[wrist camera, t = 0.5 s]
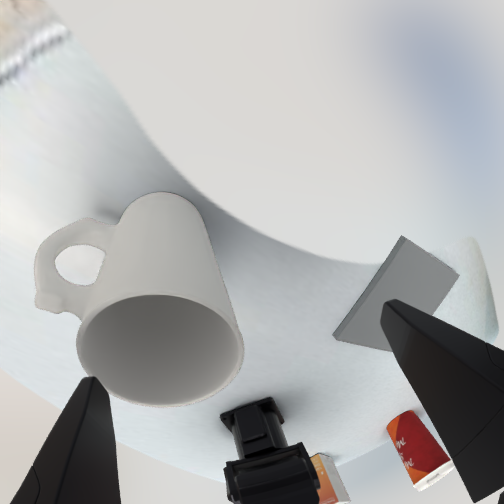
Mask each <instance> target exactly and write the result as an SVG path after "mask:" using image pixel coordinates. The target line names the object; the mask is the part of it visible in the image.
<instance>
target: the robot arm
mask: <svg viewBox="0 0 504 504" xmlns="http://www.w3.org/2000/svg"><path fill="white" fill-rule="evenodd" d="M380 325H381V328H382V330H383V332H384V334H385V336H386V338H387V341H388V343H389V345H390V347H391V349H392V351H393V353H394V356H395V358H396V360H397V362H398V364H399V366H400V368H401V369H402V371H403V373H404V374H405V376H406V378H407V379H408V381H409V383H410V384H411V386H412V388H413V390H414V391H415V393H416V395H417V397H418V398H419V400H420V402H421V403H422V405H423V407H424V409H425V411H426V412H427V414H428V416H429V418H430V419H431V421H432V423H433V425H434V427H435V429H436V430H437V432H438V434H439V436H440V438H441V439H442V441H443V443H444V445H445V447H446V449H447V451H448V453H449V455H450V456H451V458H452V461H453V463H454V465H455V467H456V469H457V471H458V472H459V474H460V476H461V478H462V480H463V482H464V485H465V486H466V488H467V491H468V493H469V495H470V497H471V499H472V501H473V502H474V503H476V502H478V501H480V500H482V499H483V498H485V497H487V496H489V495H491V494H492V493H494V492H496V491H497V490H499V489H501V488H502V487H504V350H501V349H499V348H497V347H495V346H493V345H491V344H489V343H487V342H486V343H485V341H483V340H481V339H479V338H477V337H475V336H473V335H471V334H469V333H467V332H465V331H462V330H460V329H458V328H456V327H454V326H452V325H450V324H448V323H446V322H444V321H442V320H440V319H438V318H436V317H434V316H432V315H430V314H427V313H425V312H423V311H421V310H419V309H417V308H415V307H413V306H411V305H409V304H407V303H404V302H402V301H400V300H398V299H391V300H389V301H386V302H384V304H383V307H382V312H381V318H380ZM220 419H221V421H222V422H223V423H224V424H225V425H226V427H227V428H228V429H229V430H230V431H231V432H232V433H233V436H234V440H235V444H236V448H237V452H238V456H239V460H236V461H228V462H226V465H227V467H225V468H224V469H223V470H224V474H225V478H226V486H227V497H228V500H229V501H231V502H233V503H234V504H319V501H320V498H319V495H318V492H317V490H319V489H321V486H320V481H319V478H318V475H317V472H316V469H315V467H314V465H313V463H312V461H311V459H310V457H309V455H308V453H307V451H306V449H305V447H304V445H303V443H302V442H299V443H297V444H295V445H292V446H288V444H287V441H286V438H285V435H284V433H283V430H282V427H281V424H283V423H284V419H283V417H282V415H281V413H280V411H279V410H278V408H277V406H276V404H275V402H274V400H273V398H267V399H265V400H262V401H259V402H257V403H254V404H251V405H248V406H245V407H243V408H240V409H237V410H234V411H231V412H228V413H225V414H222V415H220ZM10 504H121V498H120V490H119V480H118V470H117V456H116V441H115V434H114V427H113V421H112V414H111V406H110V398H109V394H108V392H107V390H106V389H105V388H104V386H103V385H102V384H101V382H100V381H99V380H98V378H97V377H95V376H90V377H84V378H83V379H82V380H81V381H80V383H79V385H78V386H77V388H76V389H75V391H74V393H73V394H72V396H71V398H70V399H69V401H68V403H67V404H66V406H65V408H64V409H63V411H62V413H61V415H60V416H59V418H58V420H57V421H56V423H55V425H54V427H53V428H52V430H51V432H50V433H49V435H48V437H47V439H46V441H45V442H44V444H43V446H42V448H41V450H40V451H39V454H38V455H37V457H36V459H35V461H34V463H33V466H31V468H30V470H29V472H28V474H27V476H26V477H25V479H24V481H23V483H22V485H21V487H20V488H19V490H18V491H17V493H16V495H15V496H14V498H13V500H12V501H11V503H10ZM498 504H504V491H503V492H502V493H501V494H500V497H499V501H498Z"/></svg>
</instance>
